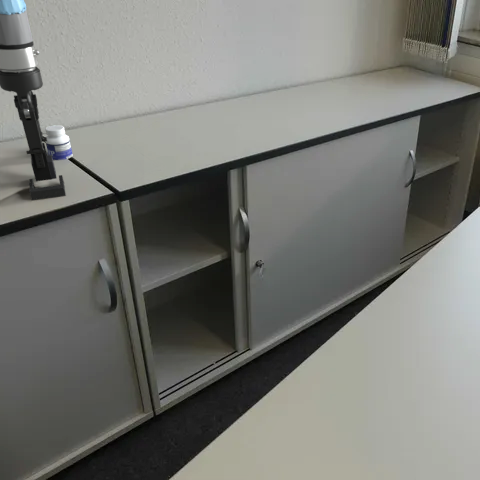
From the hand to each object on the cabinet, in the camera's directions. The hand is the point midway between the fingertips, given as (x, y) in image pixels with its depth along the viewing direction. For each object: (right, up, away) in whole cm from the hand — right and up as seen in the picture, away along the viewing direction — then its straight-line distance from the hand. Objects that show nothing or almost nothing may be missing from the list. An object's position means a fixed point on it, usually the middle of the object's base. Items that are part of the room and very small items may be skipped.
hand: (44, 175), depth 120 cm
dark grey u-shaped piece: (0, -4, +1) cm, 4 cm away
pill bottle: (-4, +5, +15) cm, 16 cm away
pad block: (0, 0, 0) cm, 0 cm away
